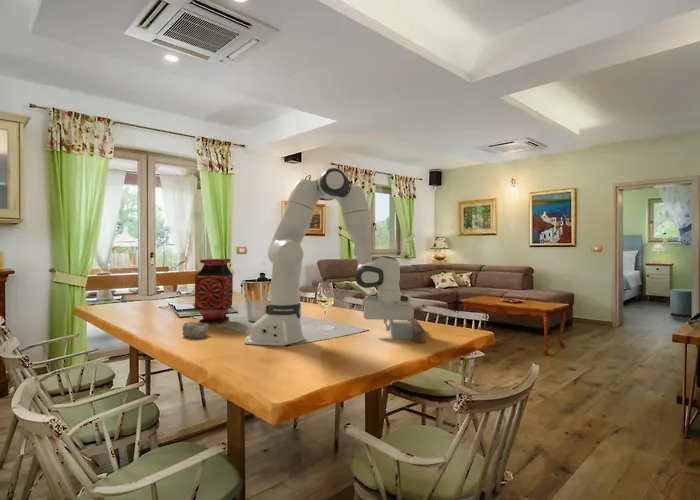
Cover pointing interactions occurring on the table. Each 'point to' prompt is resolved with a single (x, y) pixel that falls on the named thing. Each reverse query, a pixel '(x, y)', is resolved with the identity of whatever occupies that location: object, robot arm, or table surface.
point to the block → (402, 330)
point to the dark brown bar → (418, 331)
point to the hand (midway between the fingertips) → (388, 330)
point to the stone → (195, 329)
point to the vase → (214, 291)
